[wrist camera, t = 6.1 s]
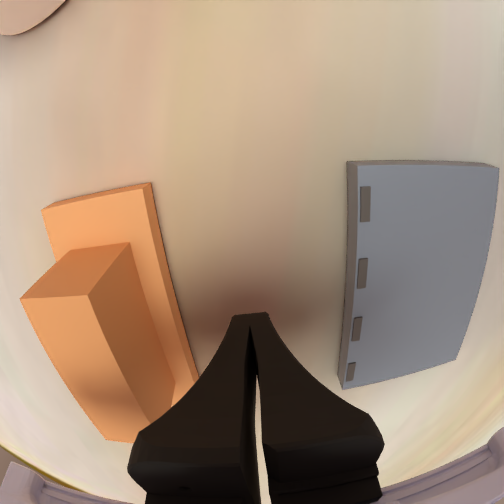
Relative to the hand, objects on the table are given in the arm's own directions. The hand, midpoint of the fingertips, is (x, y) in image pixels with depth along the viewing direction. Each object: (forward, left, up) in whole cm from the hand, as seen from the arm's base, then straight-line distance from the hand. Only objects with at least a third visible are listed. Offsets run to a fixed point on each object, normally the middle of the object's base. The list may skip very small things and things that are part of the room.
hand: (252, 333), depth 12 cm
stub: (+6, 0, -2) cm, 6 cm away
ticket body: (-8, 0, -2) cm, 9 cm away
